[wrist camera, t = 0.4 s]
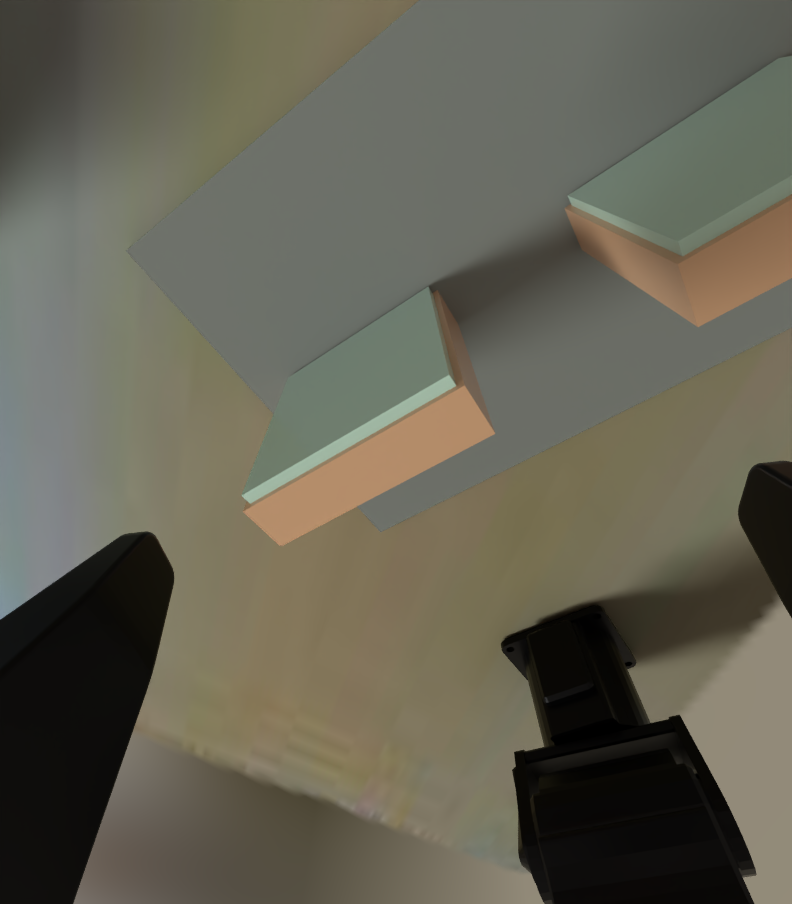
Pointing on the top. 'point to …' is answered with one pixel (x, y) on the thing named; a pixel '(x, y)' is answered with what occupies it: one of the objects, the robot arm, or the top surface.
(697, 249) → the tile
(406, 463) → the tile
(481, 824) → the top surface
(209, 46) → the top surface
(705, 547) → the top surface
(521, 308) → the slate mat
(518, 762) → the robot arm
